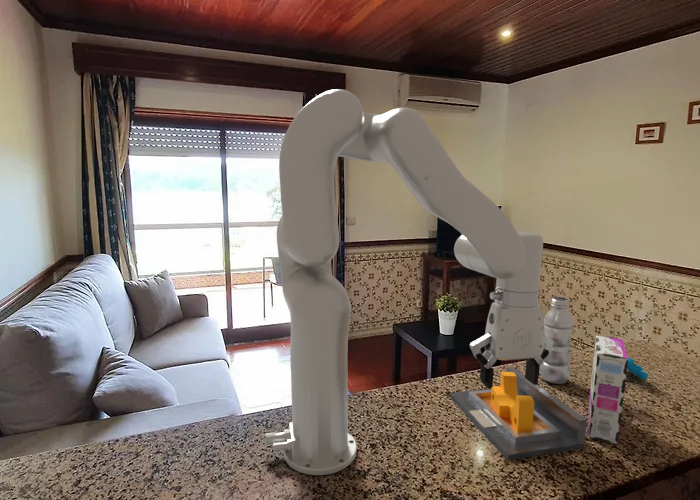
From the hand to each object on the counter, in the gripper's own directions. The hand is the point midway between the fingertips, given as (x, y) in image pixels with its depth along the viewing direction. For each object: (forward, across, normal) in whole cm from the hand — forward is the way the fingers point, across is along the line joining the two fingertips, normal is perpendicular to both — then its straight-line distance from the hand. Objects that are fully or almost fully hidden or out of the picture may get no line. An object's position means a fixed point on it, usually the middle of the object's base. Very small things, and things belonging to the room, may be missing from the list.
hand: (508, 383), depth 83 cm
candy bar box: (+7, +17, -6) cm, 19 cm away
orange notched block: (+7, +1, 0) cm, 7 cm away
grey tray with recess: (+8, +1, 0) cm, 8 cm away
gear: (+7, +39, +11) cm, 41 cm away
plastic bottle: (+7, +21, +13) cm, 26 cm away
